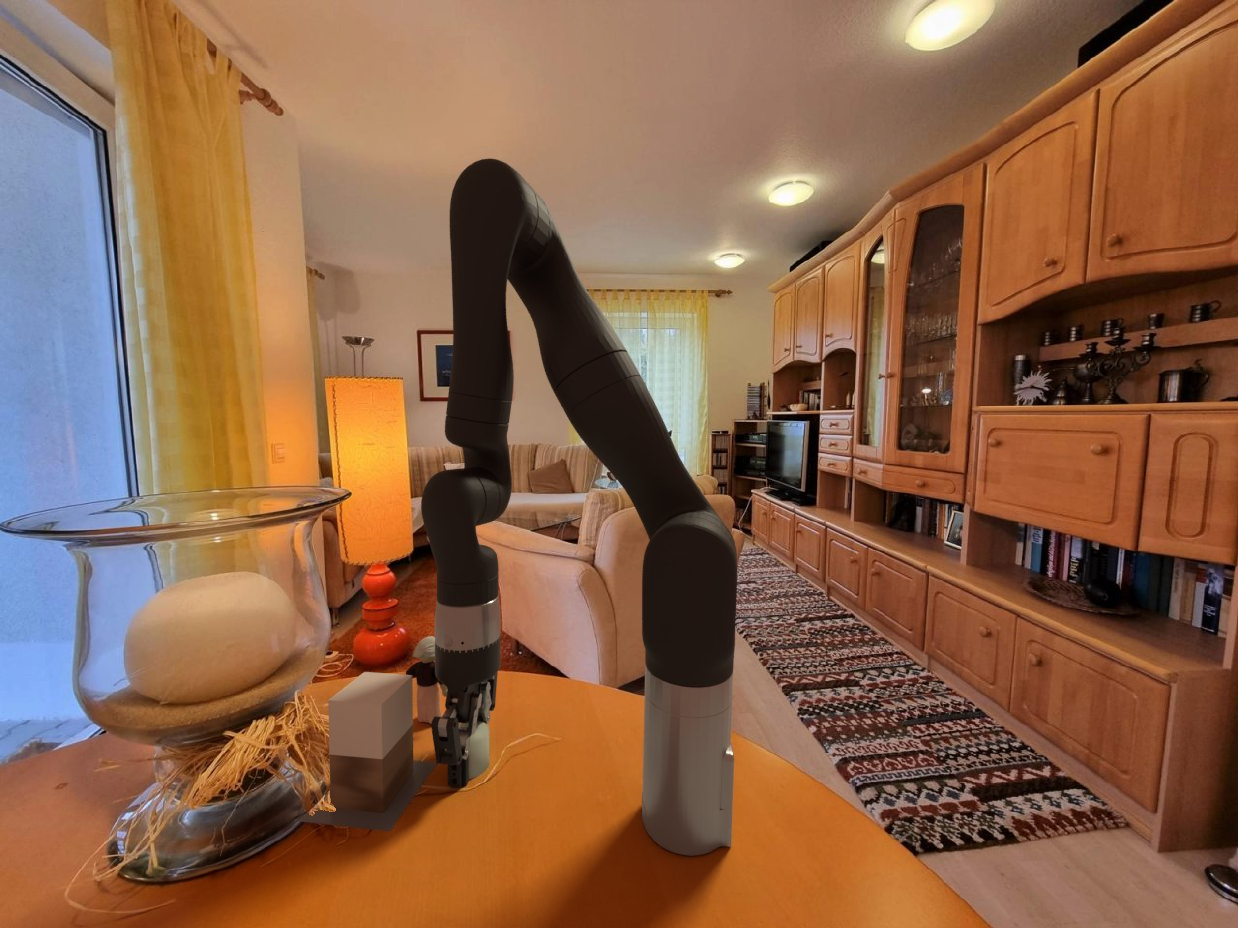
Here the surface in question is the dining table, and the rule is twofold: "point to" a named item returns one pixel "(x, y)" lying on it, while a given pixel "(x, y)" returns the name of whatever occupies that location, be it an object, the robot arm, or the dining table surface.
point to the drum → (478, 749)
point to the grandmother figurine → (427, 681)
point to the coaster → (373, 818)
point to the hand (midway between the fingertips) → (468, 768)
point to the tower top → (370, 715)
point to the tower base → (371, 777)
